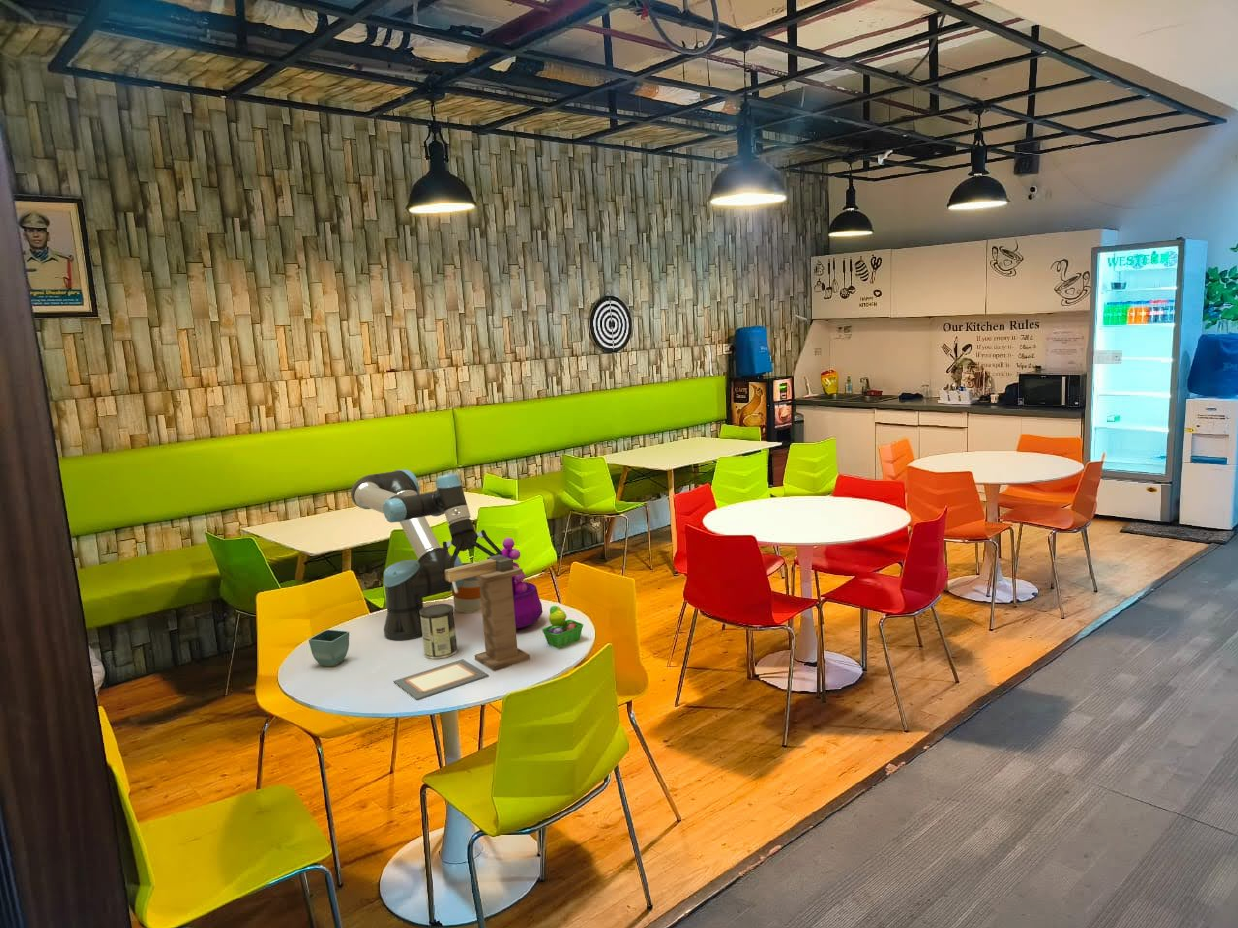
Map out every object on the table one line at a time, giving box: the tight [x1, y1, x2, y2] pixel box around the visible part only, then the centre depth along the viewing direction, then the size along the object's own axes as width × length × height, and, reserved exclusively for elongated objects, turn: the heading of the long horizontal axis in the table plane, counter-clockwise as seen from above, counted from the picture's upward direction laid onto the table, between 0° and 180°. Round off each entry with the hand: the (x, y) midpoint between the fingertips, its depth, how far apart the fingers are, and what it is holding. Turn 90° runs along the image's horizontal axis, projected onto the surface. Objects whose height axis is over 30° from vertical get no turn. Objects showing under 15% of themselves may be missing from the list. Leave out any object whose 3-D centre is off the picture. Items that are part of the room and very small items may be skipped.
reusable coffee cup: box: [451, 562, 482, 613], centre depth 300 cm, size 13×13×15 cm
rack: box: [473, 566, 531, 672], centre depth 251 cm, size 12×12×28 cm
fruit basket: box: [541, 605, 584, 649], centre depth 264 cm, size 11×9×11 cm
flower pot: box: [308, 629, 350, 667], centre depth 258 cm, size 9×9×9 cm
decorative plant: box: [501, 537, 543, 629], centre depth 279 cm, size 19×18×30 cm
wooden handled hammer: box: [445, 554, 514, 582], centre depth 245 cm, size 8×19×3 cm, turn 127°
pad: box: [392, 658, 490, 701], centre depth 241 cm, size 16×22×1 cm
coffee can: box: [419, 603, 458, 660], centre depth 261 cm, size 10×10×14 cm
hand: (477, 586), depth 264 cm, fingers open, 13 cm apart
